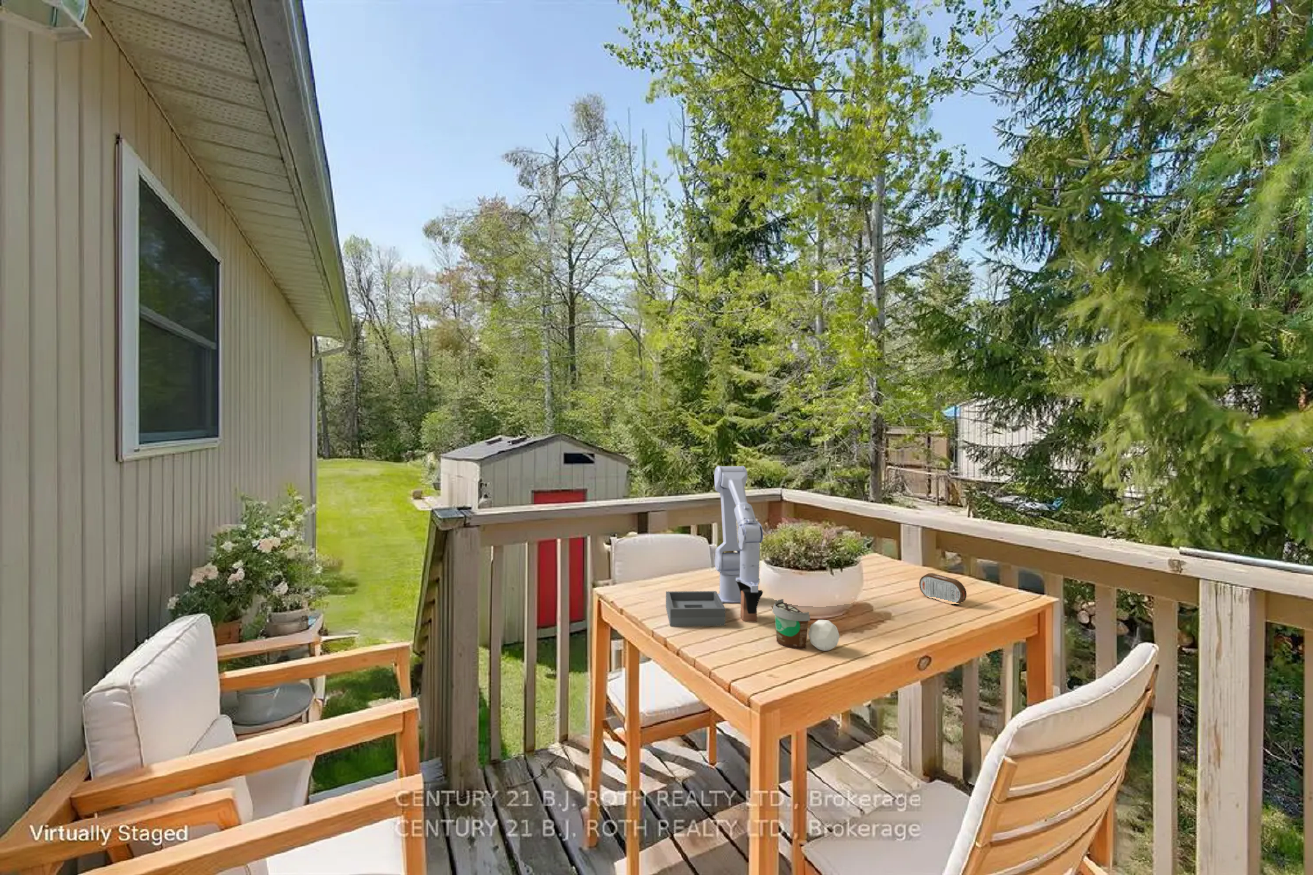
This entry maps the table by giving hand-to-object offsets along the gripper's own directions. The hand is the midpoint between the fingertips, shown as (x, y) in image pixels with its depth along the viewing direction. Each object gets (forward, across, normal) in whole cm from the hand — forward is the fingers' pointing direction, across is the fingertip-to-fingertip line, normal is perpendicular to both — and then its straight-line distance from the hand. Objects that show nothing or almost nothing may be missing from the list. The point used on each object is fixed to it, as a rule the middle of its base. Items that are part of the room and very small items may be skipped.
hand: (748, 608), depth 171 cm
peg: (+3, 0, 0) cm, 3 cm away
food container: (+3, +18, +6) cm, 19 cm away
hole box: (+3, -3, -16) cm, 17 cm away
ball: (+3, +22, +15) cm, 27 cm away
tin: (+3, -14, +68) cm, 70 cm away
